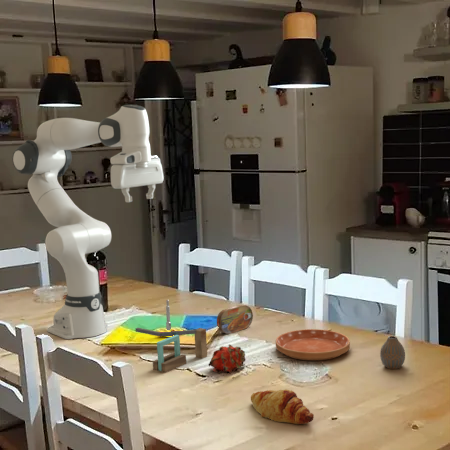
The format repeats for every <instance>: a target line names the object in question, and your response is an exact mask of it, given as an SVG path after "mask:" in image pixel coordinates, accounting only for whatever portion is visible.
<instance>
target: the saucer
mask: <svg viewBox="0 0 450 450" xmlns="http://www.w3.org/2000/svg"><path fill="white" fill-rule="evenodd" d="M275 348H276V349H277V351H278V352H280V353H282V354H284V355H285V356H287V357H290V358H292V359H297V360H302V361H325V360H332V359H335V358H338V357H340V356H342V355H343V354H345V353H347V352H348V351H349V350H350V348H351V340H350V338H349V337H348V336H347V335H345V334H343V333H341V332H337V331H334V330H327V329H319V328H316V329H314V328H313V329H312V328H311V329H310V328H309V329H298V330H297V329H296V330H292V331H287V332H285V333H283V334H279V336H277V337H276V338H275Z"/></svg>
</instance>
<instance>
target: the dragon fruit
mask: <svg viewBox="0 0 450 450" xmlns="http://www.w3.org/2000/svg"><path fill="white" fill-rule="evenodd" d="M245 352H246V351H245V350H243V349H241V346H233V345H232V344H228V347H227V346H219V348H218V349H217V350H214V351H213V354H212V358H211V359H210V361H209V363H208V367H212V368H213V369H212V371H213V372H214V373H218V374H220V373H222V372H229V373H234V372H235V371H236V370H237V369H241V368H242V367H245V366H246V363H245V362H246V358H245V356H246V353H245Z"/></svg>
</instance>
